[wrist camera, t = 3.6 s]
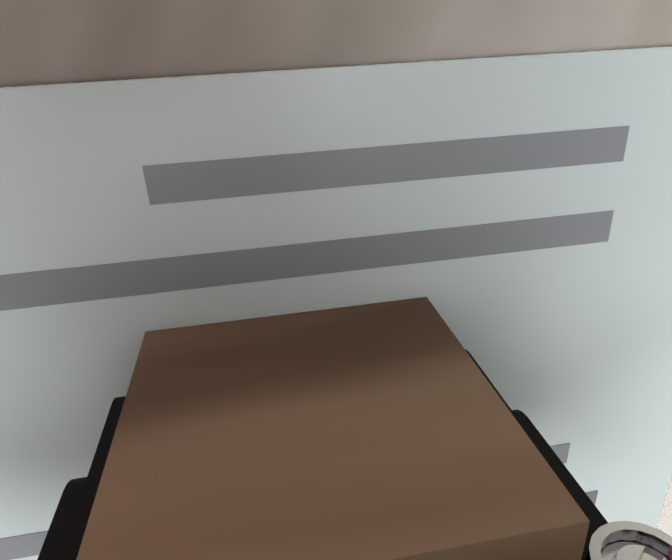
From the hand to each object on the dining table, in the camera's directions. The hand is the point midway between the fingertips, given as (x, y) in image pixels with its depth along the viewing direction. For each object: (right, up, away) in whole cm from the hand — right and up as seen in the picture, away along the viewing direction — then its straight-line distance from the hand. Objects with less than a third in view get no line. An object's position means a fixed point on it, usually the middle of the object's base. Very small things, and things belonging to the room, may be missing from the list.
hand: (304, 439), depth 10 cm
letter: (0, 0, +1) cm, 1 cm away
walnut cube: (0, 0, 0) cm, 0 cm away
